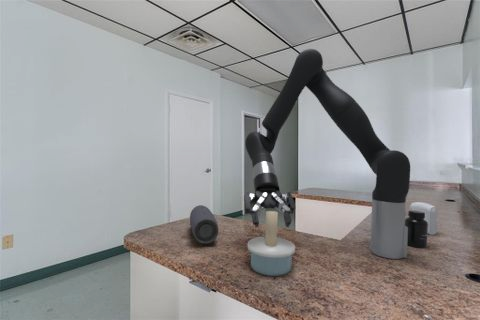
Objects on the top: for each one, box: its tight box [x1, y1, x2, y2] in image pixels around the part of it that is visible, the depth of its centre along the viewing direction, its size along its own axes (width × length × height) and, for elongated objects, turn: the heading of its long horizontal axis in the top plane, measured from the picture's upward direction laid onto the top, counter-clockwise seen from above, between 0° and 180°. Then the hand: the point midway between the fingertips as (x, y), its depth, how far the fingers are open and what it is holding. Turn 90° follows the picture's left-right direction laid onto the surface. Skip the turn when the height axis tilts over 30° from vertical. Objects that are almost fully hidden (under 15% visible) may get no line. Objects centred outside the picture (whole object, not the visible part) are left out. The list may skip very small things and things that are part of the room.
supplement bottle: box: [405, 209, 429, 249], centre depth 88 cm, size 7×7×12 cm
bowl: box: [250, 252, 293, 277], centre depth 68 cm, size 11×11×5 cm
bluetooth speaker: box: [189, 205, 219, 245], centre depth 91 cm, size 23×9×10 cm, turn 14°
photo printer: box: [409, 201, 438, 236], centre depth 105 cm, size 10×4×12 cm, turn 13°
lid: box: [247, 210, 296, 258], centre depth 68 cm, size 13×13×10 cm
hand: (272, 225), depth 66 cm, fingers open, 8 cm apart
